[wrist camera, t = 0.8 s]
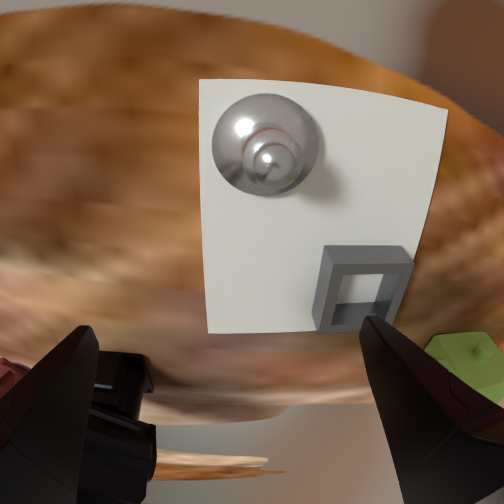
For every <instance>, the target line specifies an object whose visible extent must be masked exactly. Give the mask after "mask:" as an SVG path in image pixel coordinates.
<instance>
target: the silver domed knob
mask: <svg viewBox="0 0 504 504" xmlns="http://www.w3.org/2000/svg"><path fill="white" fill-rule="evenodd" d="M318 151H319V138H318V132H317V129H316V126H315V124H314V122H313V120H312V118H311V117H310V115H309V114H308V113H307V111H306V110H305V109H304V108H303V107H302V106H300V105H299V104H298V103H296V102H294V101H293V100H291V99H289V98H286V97H284V96H281V95H277V94H272V93H257V94H252V95H248V96H245V97H243V98H241V99H239V100H237V101H236V102H234V103H233V104H231V105H230V106H229V107H228V108H227V109H226V110H225V111H224V112H223V114H222V115H221V116H220V118H219V120H218V122H217V123H216V126H215V129H214V132H213V137H212V155H213V159H214V162H215V165H216V167H217V169H218V171H219V172H220V174H221V175H222V176H223V178H224V179H225V180H226V181H227V182H228V183H229V184H231V185H232V186H233V187H235V188H237V189H238V190H240V191H242V192H245V193H248V194H251V195H256V196H272V195H278V194H281V193H284V192H287V191H289V190H291V189H293V188H294V187H296V186H297V185H299V184H300V183H301V182H302V181H303V180H304V179H305V178H306V177H307V176H308V175H309V173H310V172H311V170H312V169H313V167H314V165H315V162H316V159H317V156H318Z"/></svg>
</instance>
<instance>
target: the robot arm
mask: <svg viewBox="0 0 504 504" xmlns="http://www.w3.org/2000/svg"><path fill="white" fill-rule="evenodd" d="M359 340H360V344H361V349H362V353H363V358H364V363H365V367H366V372H367V376H368V380H369V383H370V386H371V389H372V392H373V396H374V399H375V402H376V405H377V408H378V411H379V414H380V418H381V421H382V424H383V428H384V430H385V434H386V437H387V441H388V444H389V448H390V451H391V455H392V459H393V462H394V465H395V469H396V473H397V477H398V481H399V485H400V489H401V493H402V497H403V501H404V504H504V408H502V407H500V406H499V405H497V404H496V403H494V402H493V401H491V400H490V399H488V398H487V397H485V396H484V395H482V394H481V393H479V392H478V391H476V390H475V389H473V388H472V387H470V386H469V385H467V384H466V383H465V382H464V381H462V380H461V379H460V378H458V377H457V376H456V375H454V374H453V373H452V372H449V370H448V369H447V368H446V367H444V366H443V365H442V364H440V363H439V362H438V361H437V360H435V359H434V358H433V357H432V356H430V355H429V354H428V353H427V352H425V351H424V350H423V349H421V348H420V347H419V346H418V345H416V344H415V343H414V342H412V341H411V340H410V339H409V338H407V337H406V336H405V335H403V334H402V333H401V332H399V331H398V330H397V329H396V328H394V327H393V326H392V325H390V324H389V323H388V322H386V321H385V320H384V319H383V318H381V317H380V316H379V315H377V314H372V315H366V316H365V317H364V319H363V322H362V326H361V329H360V333H359ZM153 392H154V387H153V384H152V382H151V379H150V376H149V373H148V370H147V367H146V364H145V361H144V358H143V356H141V355H138V354H125V353H112V352H101V351H99V343H98V340H97V338H96V336H95V334H94V331H93V329H92V327H91V326H87V325H80V326H78V327H77V328H76V329H75V330H73V331H72V332H71V333H70V334H69V335H68V336H67V337H66V338H64V339H63V340H62V341H61V342H60V343H59V344H58V345H57V346H56V347H54V348H53V349H52V350H51V351H50V352H49V353H48V354H47V355H46V356H45V357H44V358H42V359H41V360H40V361H39V362H38V363H37V364H36V365H35V366H34V367H33V368H32V369H31V370H30V371H28V372H27V373H26V374H25V375H24V376H23V377H22V378H21V379H20V380H19V381H18V382H17V383H16V384H15V385H14V386H13V387H12V388H11V389H10V390H9V391H7V392H6V393H5V394H4V395H3V396H2V397H1V398H0V504H140V503H141V502H142V501H143V500H144V498H145V497H146V486H147V482H149V481H150V480H151V479H152V477H153V474H154V471H155V467H156V460H157V450H156V425H153V424H147V423H144V422H141V421H138V420H139V414H140V408H141V402H142V396H143V393H153Z"/></svg>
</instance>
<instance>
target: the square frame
mask: <svg viewBox="0 0 504 504" xmlns="http://www.w3.org/2000/svg"><path fill="white" fill-rule="evenodd" d="M414 265H415V262H414V261H413V260H412V258H411V257H410V256H409V255H408V253H407V252H406V251H405V250H404V249H403V247H402V246H395V245H324V248H323V254H322V259H321V265H320V270H319V276H318V281H317V286H316V292H315V297H314V302H313V307H312V312H311V314H312V317H313V320H314V324H315V327H316V331H317V334H325V333H339V332H352V331H360V329H361V326H362V322H363V319H364V317H365V316H366V315H372V314H377V315H379V316H380V317H381V318H383V319H384V320H385V321H386V322H388V323H389V324H390V325H392V323H393V321H394V318H395V316H396V313H397V311H398V308H399V306H400V303H401V301H402V298H403V295H404V293H405V290H406V287H407V285H408V282H409V279H410V276H411V273H412V270H413V267H414ZM365 274H383V277H382V280H381V283H380V286H379V289H378V293H377V296H376V299H375V302H362V303H343V304H336V302H337V298H338V294H339V290H340V286H341V282H342V278H343V275H365Z"/></svg>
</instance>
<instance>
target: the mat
mask: <svg viewBox="0 0 504 504" xmlns="http://www.w3.org/2000/svg"><path fill="white" fill-rule="evenodd" d="M257 93H272V94H277V95H281V96H284V97H286V98H289V99H291V100H293V101H294V102H296V103H298V104H299V105H300V106H302V107H303V108H304V109H305V110H306V111H307V113H308V114H309V115H310V117H311V118H312V120H313V122H314V124H315V126H316V129H317V132H318V138H319V151H318V156H317V159H316V162H315V165H314V167H313V169H312V170H311V172H310V173H309V175H308V176H307V177H306V178H305V179H304V180H303V181H302V182H301V183H300V184H299V185H297V186H296V187H294V188H293V189H291V190H289V191H287V192H284V193H281V194H278V195H272V196H256V195H251V194H248V193H245V192H242V191H240V190H238V189H237V188H235V187H233V186H232V185H231V184H229V183H228V182H227V181H226V180H225V179H224V178H223V176H222V175H221V174H220V172H219V171H218V169H217V167H216V165H215V162H214V159H213V155H212V137H213V132H214V129H215V126H216V123H217V122H218V120H219V118H220V116H221V115H222V114H223V112H224V111H225V110H226V109H227V108H228V107H229V106H230V105H231V104H233V103H234V102H236V101H237V100H239V99H241V98H243V97H245V96H248V95H252V94H257ZM447 114H448V110H446V109H443V108H439V107H435V106H432V105H428V104H424V103H420V102H416V101H412V100H407V99H403V98H399V97H394V96H389V95H384V94H379V93H374V92H368V91H362V90H356V89H350V88H343V87H336V86H328V85H320V84H311V83H301V82H289V81H274V80H253V79H199V159H200V198H201V224H202V246H203V264H204V281H205V296H206V310H207V323H208V333H272V332H298V331H316V327H315V324H314V320H313V317H312V314H311V312H312V307H313V302H314V297H315V292H316V286H317V281H318V276H319V270H320V265H321V259H322V254H323V248H324V245H395V246H402V247H403V249H404V250H405V251H406V252H407V253H408V255H409V256H410V257H411V258H412V260H413V259H414V256H415V253H416V250H417V247H418V243H419V240H420V237H421V233H422V230H423V227H424V223H425V219H426V216H427V212H428V208H429V204H430V201H431V197H432V192H433V188H434V184H435V180H436V175H437V171H438V166H439V161H440V156H441V151H442V145H443V140H444V134H445V128H446V121H447ZM382 277H383V274H365V275H343V278H342V282H341V286H340V290H339V294H338V298H337V302H336V304H343V303H362V302H375V299H376V296H377V293H378V289H379V286H380V283H381V280H382Z"/></svg>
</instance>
